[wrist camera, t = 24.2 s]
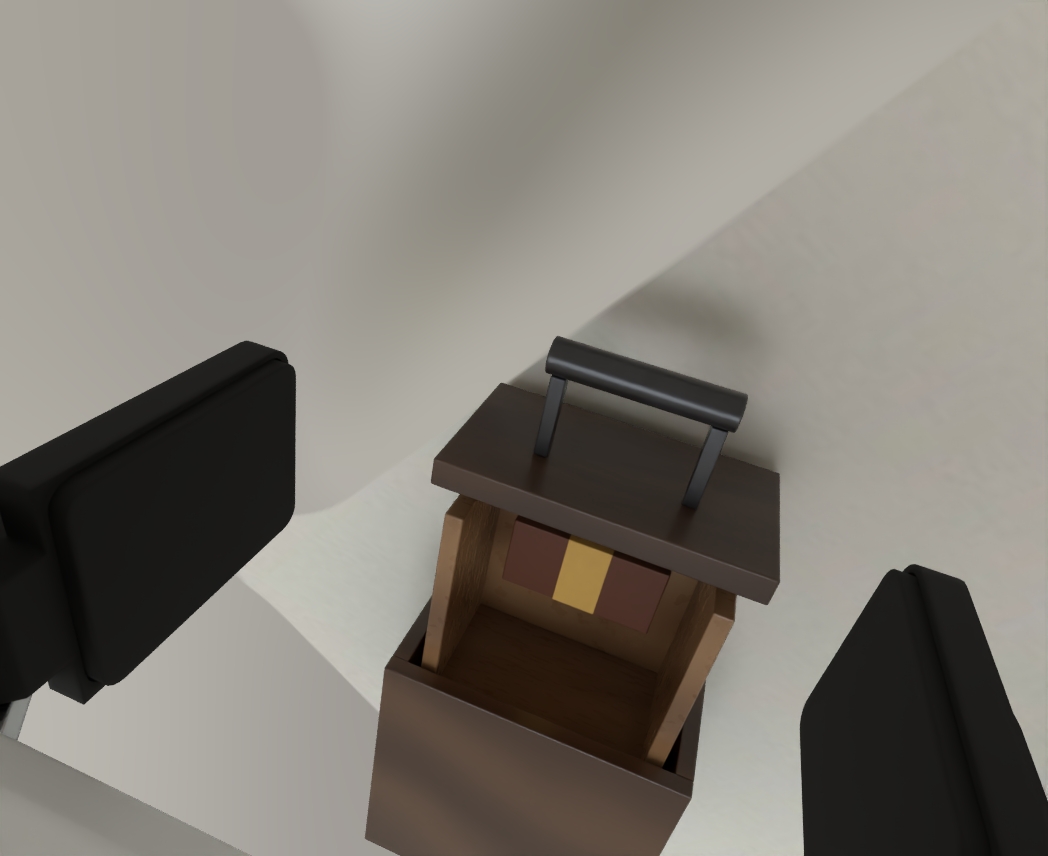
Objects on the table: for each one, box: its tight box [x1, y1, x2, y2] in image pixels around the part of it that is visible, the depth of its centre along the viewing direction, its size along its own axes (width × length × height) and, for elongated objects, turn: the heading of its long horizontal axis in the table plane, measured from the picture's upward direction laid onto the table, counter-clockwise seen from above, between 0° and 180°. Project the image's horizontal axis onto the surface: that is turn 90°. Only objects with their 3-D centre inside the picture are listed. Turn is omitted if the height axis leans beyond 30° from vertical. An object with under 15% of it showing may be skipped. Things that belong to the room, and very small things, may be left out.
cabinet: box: [365, 596, 706, 856], centre depth 37 cm, size 15×14×9 cm
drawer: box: [421, 336, 780, 768], centre depth 29 cm, size 18×13×7 cm
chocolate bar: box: [502, 515, 671, 634], centre depth 31 cm, size 4×7×3 cm, turn 79°
